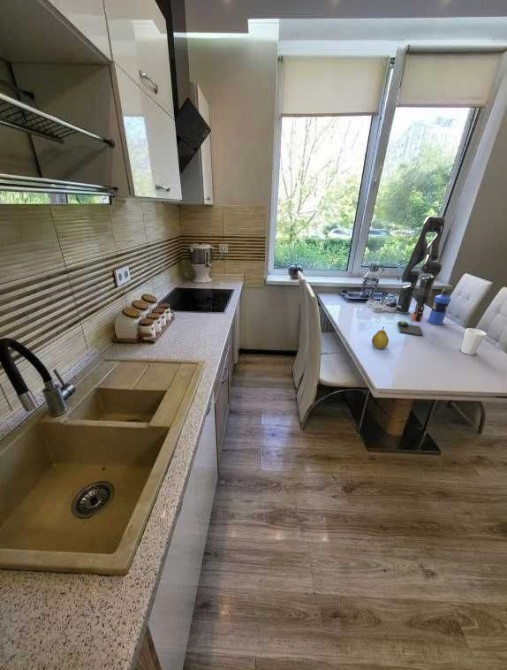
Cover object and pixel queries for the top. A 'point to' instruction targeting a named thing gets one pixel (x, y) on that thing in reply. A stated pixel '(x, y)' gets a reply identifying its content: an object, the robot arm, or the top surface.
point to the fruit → (380, 339)
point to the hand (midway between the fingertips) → (416, 319)
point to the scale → (409, 329)
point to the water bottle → (439, 308)
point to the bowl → (415, 317)
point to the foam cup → (472, 340)
